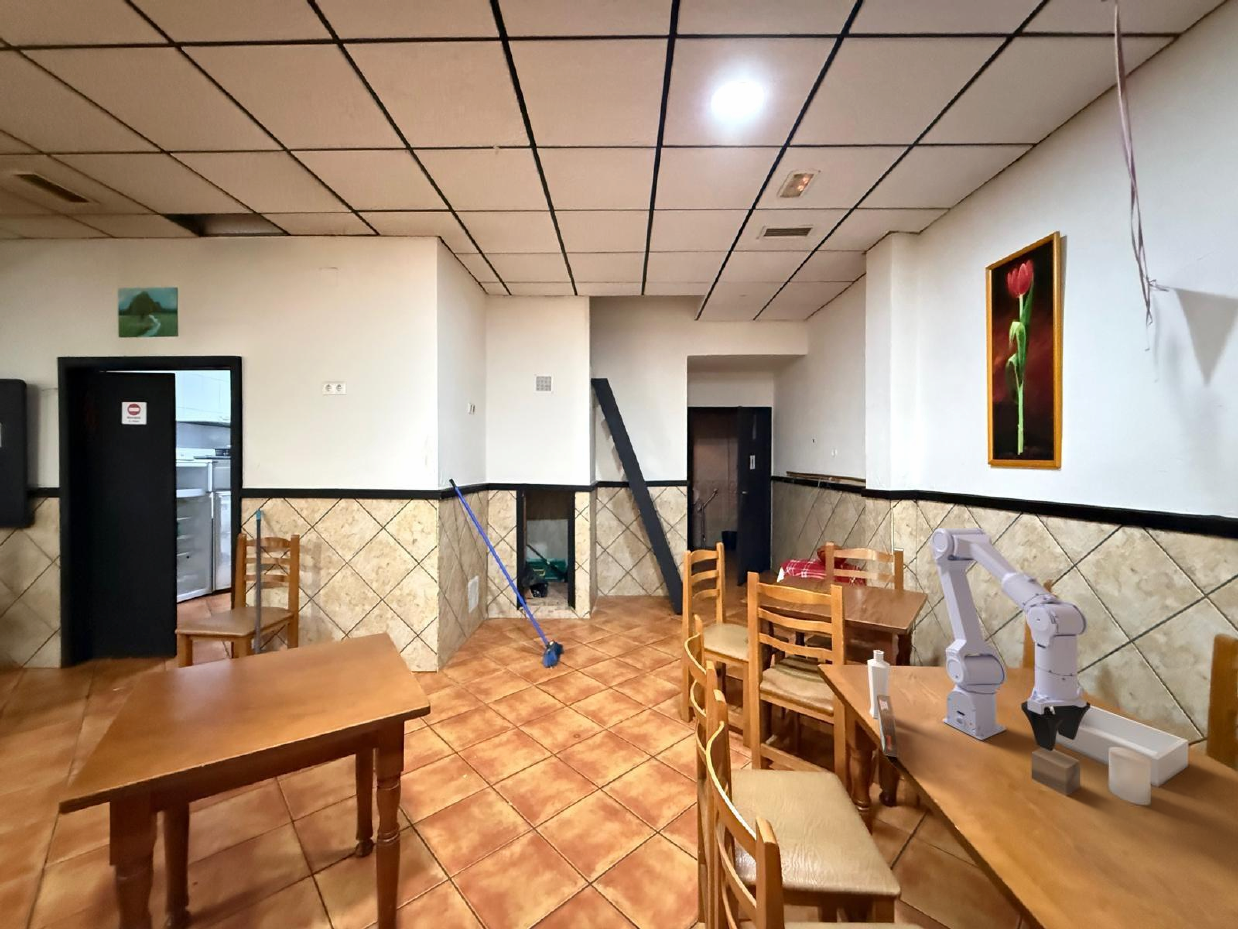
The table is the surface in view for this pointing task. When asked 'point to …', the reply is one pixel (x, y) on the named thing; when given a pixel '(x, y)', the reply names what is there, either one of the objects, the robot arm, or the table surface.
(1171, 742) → the tote
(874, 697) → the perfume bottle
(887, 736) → the tin
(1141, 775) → the ceramic cylinder
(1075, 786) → the walnut cube
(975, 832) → the table surface
